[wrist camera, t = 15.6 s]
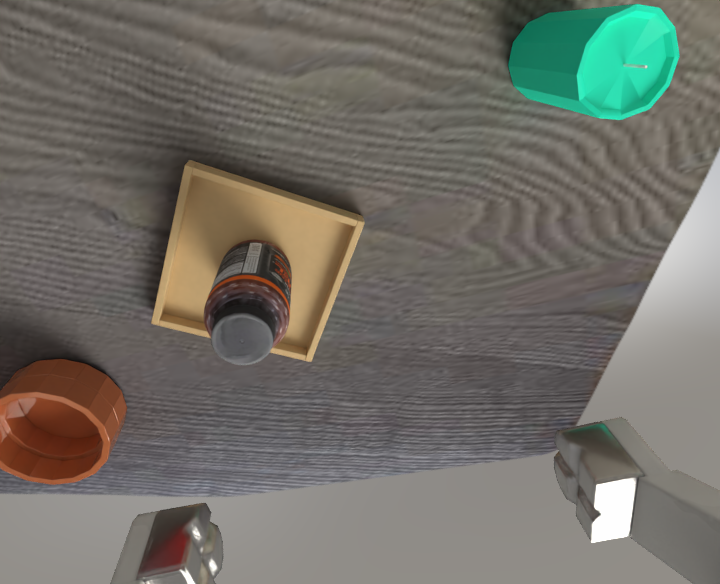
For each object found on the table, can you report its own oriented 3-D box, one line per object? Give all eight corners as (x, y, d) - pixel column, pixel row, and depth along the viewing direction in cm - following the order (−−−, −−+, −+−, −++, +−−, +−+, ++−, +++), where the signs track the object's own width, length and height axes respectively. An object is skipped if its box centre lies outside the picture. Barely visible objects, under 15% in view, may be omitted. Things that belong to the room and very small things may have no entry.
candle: (507, 20, 35) (595, 12, 25) (588, 5, 35) (710, -8, 25) (508, 107, 38) (587, 134, 28) (583, 93, 38) (691, 115, 28)
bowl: (5, 432, 47) (-26, 472, 43) (12, 345, 43) (-22, 380, 39) (118, 452, 50) (101, 492, 45) (135, 371, 46) (117, 407, 41)
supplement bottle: (303, 285, 43) (303, 361, 33) (241, 309, 43) (222, 391, 33) (274, 225, 40) (264, 288, 30) (207, 252, 40) (176, 321, 30)
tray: (156, 314, 43) (150, 323, 42) (189, 159, 37) (184, 164, 36) (310, 351, 47) (311, 362, 45) (362, 215, 41) (364, 222, 39)
